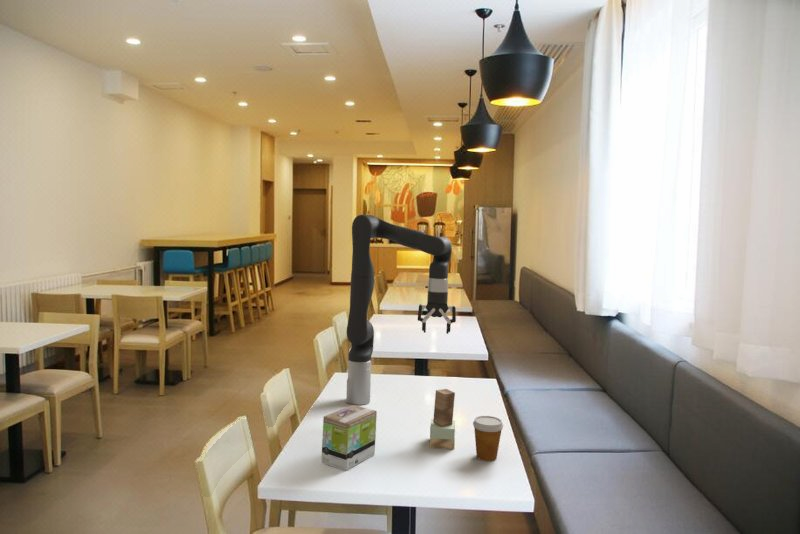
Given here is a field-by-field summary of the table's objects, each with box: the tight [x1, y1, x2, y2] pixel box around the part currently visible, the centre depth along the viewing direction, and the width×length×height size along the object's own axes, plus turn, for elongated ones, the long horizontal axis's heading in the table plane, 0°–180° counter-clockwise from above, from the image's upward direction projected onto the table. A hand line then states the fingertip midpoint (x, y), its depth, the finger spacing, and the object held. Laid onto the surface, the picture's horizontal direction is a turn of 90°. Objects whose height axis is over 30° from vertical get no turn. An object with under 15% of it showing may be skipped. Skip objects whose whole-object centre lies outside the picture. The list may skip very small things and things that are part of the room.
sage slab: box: [429, 418, 456, 440], centre depth 192 cm, size 8×8×4 cm
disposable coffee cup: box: [472, 415, 504, 462], centre depth 183 cm, size 10×10×12 cm
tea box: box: [320, 404, 378, 472], centre depth 178 cm, size 15×10×15 cm, turn 148°
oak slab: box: [429, 437, 456, 450], centre depth 193 cm, size 8×8×4 cm
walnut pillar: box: [432, 388, 456, 427], centre depth 192 cm, size 4×4×11 cm
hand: (436, 332), depth 217 cm, fingers open, 8 cm apart
